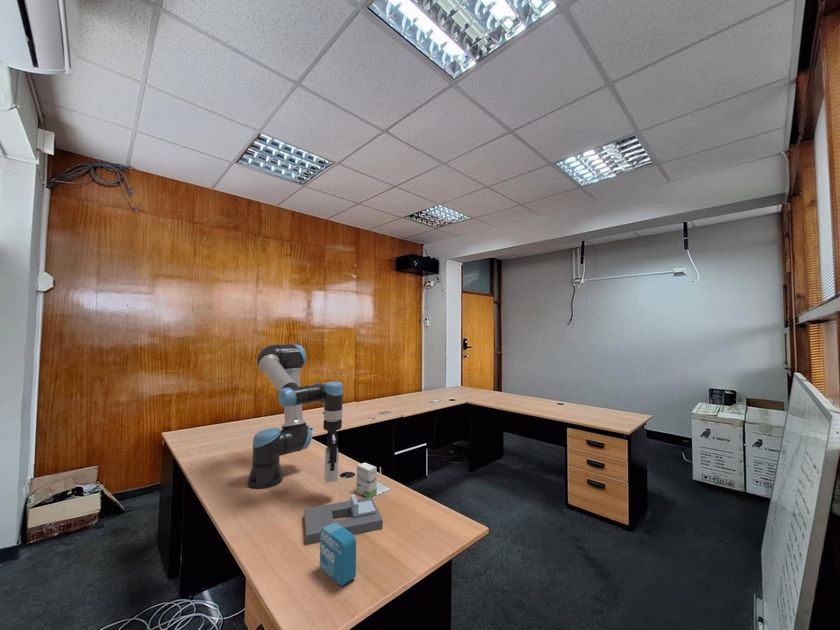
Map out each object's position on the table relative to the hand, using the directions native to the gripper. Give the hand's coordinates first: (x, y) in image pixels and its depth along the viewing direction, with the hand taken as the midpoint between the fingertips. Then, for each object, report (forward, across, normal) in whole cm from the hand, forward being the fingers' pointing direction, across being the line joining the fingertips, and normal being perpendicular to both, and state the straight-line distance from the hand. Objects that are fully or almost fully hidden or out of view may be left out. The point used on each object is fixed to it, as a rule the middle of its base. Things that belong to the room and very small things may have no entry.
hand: (331, 474), depth 139 cm
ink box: (+10, 0, +15) cm, 18 cm away
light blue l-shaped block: (+6, +19, +10) cm, 22 cm away
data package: (+9, +45, -3) cm, 46 cm away
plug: (+2, 0, 0) cm, 2 cm away
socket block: (+10, +19, +2) cm, 21 cm away
